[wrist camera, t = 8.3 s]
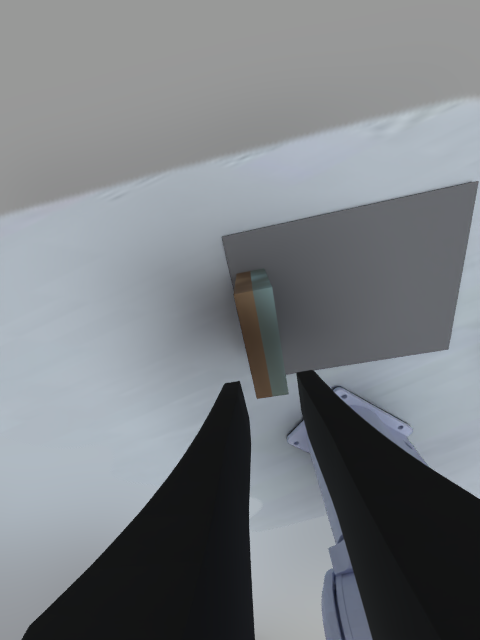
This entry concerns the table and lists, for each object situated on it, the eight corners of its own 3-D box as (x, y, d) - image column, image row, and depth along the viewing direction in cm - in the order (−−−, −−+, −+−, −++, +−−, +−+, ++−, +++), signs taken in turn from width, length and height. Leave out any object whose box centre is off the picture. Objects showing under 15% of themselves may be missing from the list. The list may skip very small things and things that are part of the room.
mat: (472, 181, 14) (478, 180, 14) (444, 346, 19) (448, 349, 19) (222, 236, 16) (221, 236, 15) (253, 376, 20) (253, 379, 20)
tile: (264, 268, 16) (272, 287, 12) (277, 351, 19) (288, 394, 14) (236, 273, 16) (233, 294, 12) (253, 355, 19) (256, 398, 14)
